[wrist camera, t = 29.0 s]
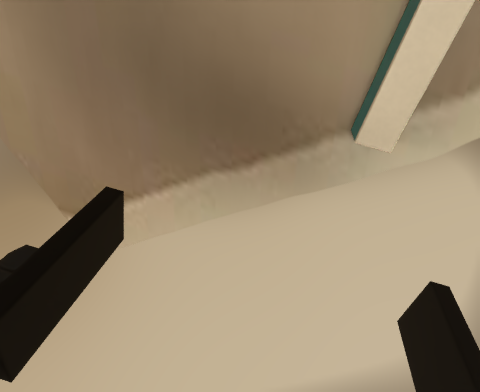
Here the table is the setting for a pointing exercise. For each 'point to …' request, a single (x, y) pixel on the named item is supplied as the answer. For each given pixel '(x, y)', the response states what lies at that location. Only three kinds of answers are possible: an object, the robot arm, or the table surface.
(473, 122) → the table surface
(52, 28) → the table surface
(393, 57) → the long rectangular block
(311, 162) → the table surface
